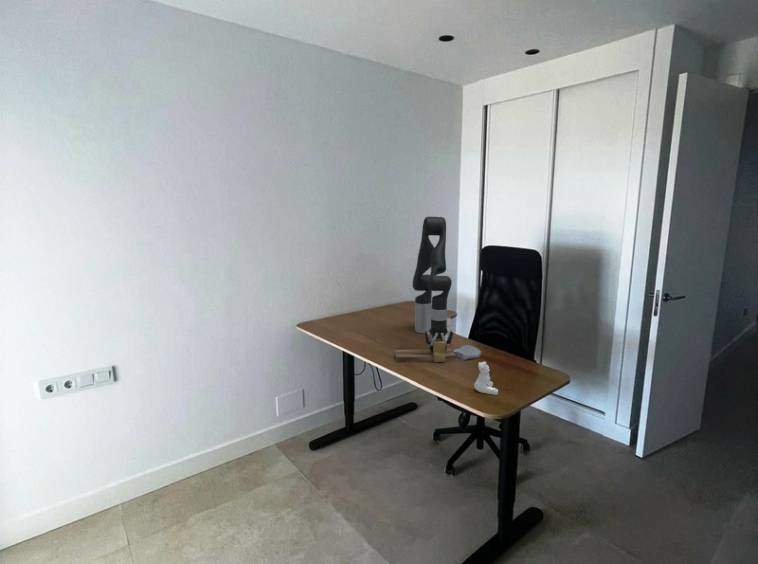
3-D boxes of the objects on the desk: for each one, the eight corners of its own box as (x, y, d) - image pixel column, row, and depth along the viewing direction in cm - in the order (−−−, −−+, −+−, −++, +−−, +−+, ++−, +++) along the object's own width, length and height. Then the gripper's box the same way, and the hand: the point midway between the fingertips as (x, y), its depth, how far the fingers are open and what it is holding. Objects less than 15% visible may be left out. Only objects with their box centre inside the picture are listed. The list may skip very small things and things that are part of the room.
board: (394, 354, 208) (394, 349, 207) (450, 353, 209) (451, 348, 209) (396, 362, 198) (396, 357, 197) (455, 360, 200) (455, 355, 199)
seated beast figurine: (499, 395, 164) (501, 366, 162) (477, 396, 164) (478, 367, 161) (491, 385, 173) (493, 357, 171) (471, 385, 173) (472, 357, 171)
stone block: (482, 359, 206) (466, 350, 214) (484, 351, 205) (468, 342, 212) (466, 366, 199) (450, 356, 206) (468, 357, 198) (452, 348, 205)
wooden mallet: (428, 350, 212) (429, 333, 210) (438, 350, 212) (439, 333, 210) (434, 362, 197) (434, 343, 195) (445, 361, 197) (445, 343, 196)
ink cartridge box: (445, 342, 226) (446, 315, 223) (450, 345, 222) (451, 317, 219) (431, 344, 222) (432, 317, 220) (437, 347, 218) (437, 319, 215)
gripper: (452, 315, 202) (451, 349, 205) (422, 315, 201) (421, 349, 204) (455, 319, 195) (454, 354, 198) (425, 320, 194) (424, 355, 197)
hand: (438, 352), depth 201 cm, fingers closed on wooden mallet, 5 cm apart
